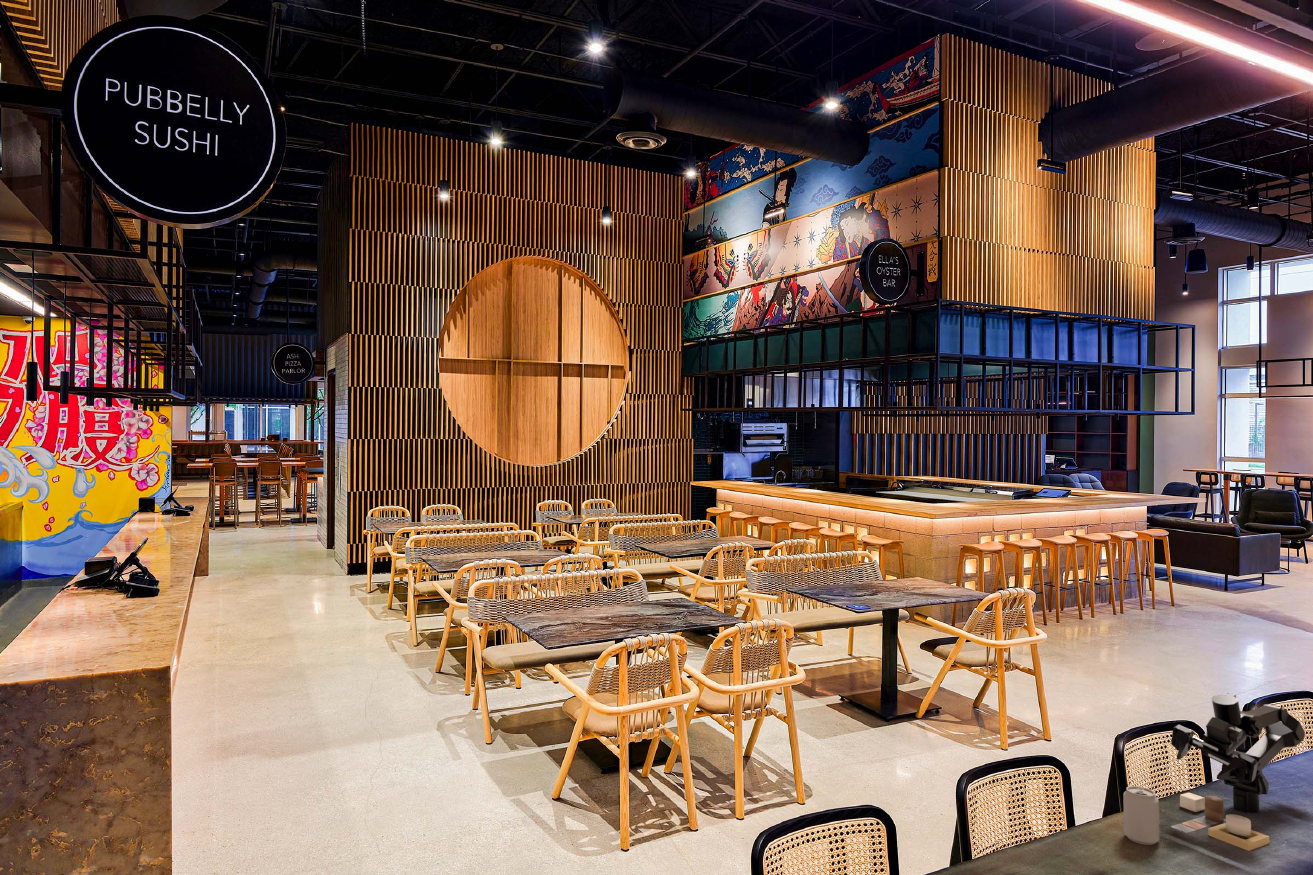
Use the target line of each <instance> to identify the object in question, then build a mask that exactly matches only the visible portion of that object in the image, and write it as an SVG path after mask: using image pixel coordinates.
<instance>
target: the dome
mask: <svg viewBox="0 0 1313 875" xmlns="http://www.w3.org/2000/svg"><path fill="white" fill-rule="evenodd" d="M1225 819H1226V821H1225V823H1226V830H1227V831H1229V832H1231V833H1230V834H1234V835H1237V836H1242V837H1244V836H1249V835H1251V830H1252V821H1251V820H1250V818H1249V817H1248V818H1247V817H1245V816H1243V815H1239V814H1233V813H1232V814H1231V813H1229V814H1226V815H1225Z"/></svg>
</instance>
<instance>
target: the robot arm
mask: <svg viewBox="0 0 1313 875" xmlns="http://www.w3.org/2000/svg"><path fill="white" fill-rule="evenodd" d="M1211 701H1212V707H1213V708H1212V709H1213V714H1214V716H1212V717H1211V718H1210V720H1209V721H1208V722H1207V724H1206V725H1205V728H1206V732H1205V733H1204V734H1203V739H1204V740H1203V739H1200V738H1198V737H1196V736H1194V734H1195V732H1194V730H1192V729H1190V728H1188V727H1185V726H1183V725H1181V724H1176V725H1174V726H1173V728H1172V733H1171V735H1172V736H1171V741H1170V745H1171V746H1172V747H1174V748H1175V750H1176V751H1177V754H1176V760H1181V759H1183V758H1184V757H1185V756H1186V755H1188V753H1189V751H1191V749H1192V747H1194V748H1196V749H1198V750H1201V751H1202V752H1203V756H1206V757H1207V758H1210V759H1212V760H1214V761H1216V762H1218V763H1220V764H1222V765H1221V770H1220V771H1219V772H1218V774H1217V775H1216V779H1217V780H1221V781H1222V780H1223V783H1224V784H1223V785H1226V786H1231V787H1232V809H1233V810H1235V811H1238V812H1240V813H1243V814H1244V813H1245V814H1247V813H1251V814H1252V813H1253V814H1258V813H1260V810H1261V809H1260V808H1261V806H1260V796H1261V795H1266V796H1267V795H1268V794H1269V793H1268V791H1269V788H1270V787H1269V786H1270V783H1269V782H1268V780H1267V779H1266V776H1265V775H1264V773H1263V770H1264V768H1266V767H1267V766H1268V765H1269V763H1271V761H1272V760H1273V759H1274V758H1275V757H1277V755H1278V754H1279V753H1280V752H1281V751H1282V750H1283V749H1286V748H1295V747H1297V746H1298V745H1299V744H1301V743H1302V742H1303V741H1304V740H1305V737H1306V736H1305V735H1306V732H1305V729H1304V728H1303V725H1302V724H1301V722H1300V721H1299V720H1298V719H1296V718H1295V717H1294V716H1292V715H1291V714H1289V712H1288V710H1287V709H1286V708H1284V707H1283V706H1280V705H1279V706H1278V705H1274V704H1269V703H1266V704H1262V706H1259V707H1257V708H1253V709H1250V710H1247V711H1245V710H1242V711H1241V710H1240V703H1239V699H1238V698H1237V696H1236V694H1233V693H1226V694H1218V695H1213V696H1212V697H1211ZM1263 730H1264V731H1265V732H1264V734H1263V735H1262V736H1261V737H1260V739H1259V740H1258V741H1256V742H1255V743H1254V745H1253V746H1251V747H1250V748H1249V749H1248V750H1247V751H1246V752H1242V751H1238V750H1237V749H1239V750H1244V751H1245V750H1246V742H1245V741H1246V740H1247V737H1249V738H1254V739H1256V738H1257V737H1259V736H1260V735H1261V734H1262V733H1263Z"/></svg>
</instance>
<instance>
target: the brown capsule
mask: <svg viewBox="0 0 1313 875" xmlns="http://www.w3.org/2000/svg"><path fill="white" fill-rule="evenodd" d="M1204 807H1205V809H1204V816H1205V817H1206V818H1207V820H1210V821H1211V820H1212V822H1214V821H1217V822H1220V823H1223V822H1225V821H1224V819H1225V818H1224V816H1225V813H1224V812H1225V811H1224V799H1223V798H1221V797H1218V796H1216V795H1215V796H1214V795H1205V796H1204ZM1206 818H1205V819H1206ZM1222 821H1223V822H1222ZM1217 822H1216V823H1217Z"/></svg>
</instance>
